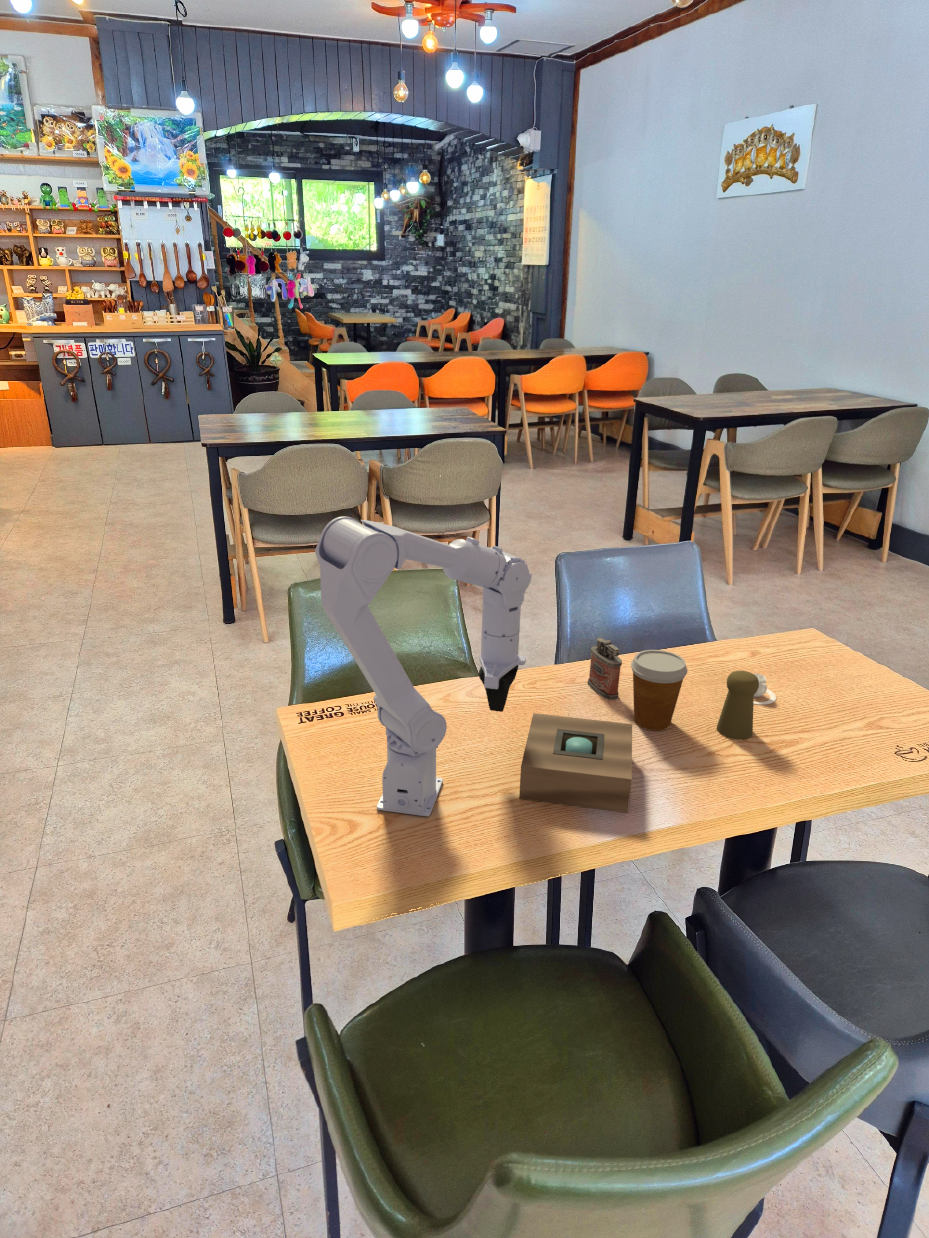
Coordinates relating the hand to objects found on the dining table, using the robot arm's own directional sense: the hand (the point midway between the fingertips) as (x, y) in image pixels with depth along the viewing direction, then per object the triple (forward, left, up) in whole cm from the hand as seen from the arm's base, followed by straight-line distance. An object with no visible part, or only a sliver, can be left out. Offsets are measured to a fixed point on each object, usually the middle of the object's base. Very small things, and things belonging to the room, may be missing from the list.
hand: (497, 709), depth 129 cm
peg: (-2, -13, -9) cm, 16 cm away
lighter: (+28, -16, -10) cm, 34 cm away
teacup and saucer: (+36, -46, -10) cm, 59 cm away
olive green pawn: (+18, -39, -10) cm, 44 cm away
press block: (-2, -13, -9) cm, 16 cm away
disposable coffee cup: (+18, -25, -10) cm, 33 cm away
